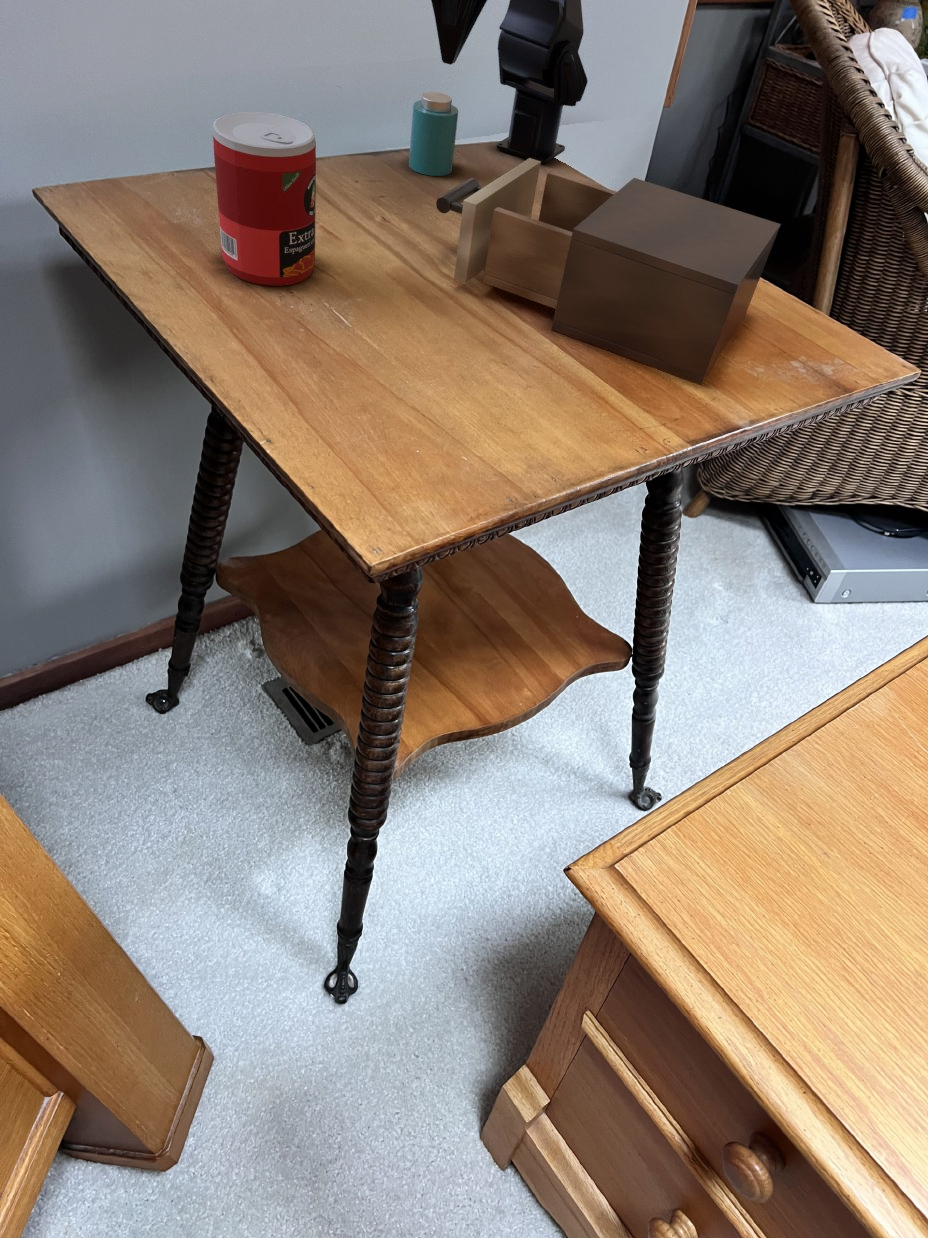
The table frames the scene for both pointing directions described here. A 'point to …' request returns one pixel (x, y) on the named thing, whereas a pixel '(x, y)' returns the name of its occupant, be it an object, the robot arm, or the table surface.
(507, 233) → the drawer
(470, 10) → the robot arm
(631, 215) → the cabinet
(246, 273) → the canned food
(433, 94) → the teal bottle
